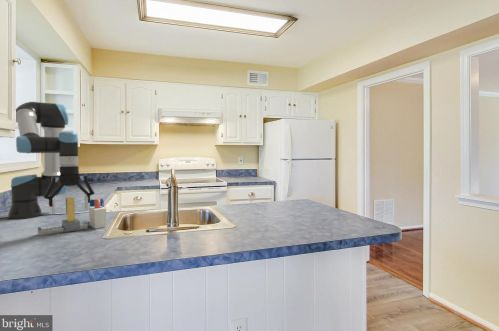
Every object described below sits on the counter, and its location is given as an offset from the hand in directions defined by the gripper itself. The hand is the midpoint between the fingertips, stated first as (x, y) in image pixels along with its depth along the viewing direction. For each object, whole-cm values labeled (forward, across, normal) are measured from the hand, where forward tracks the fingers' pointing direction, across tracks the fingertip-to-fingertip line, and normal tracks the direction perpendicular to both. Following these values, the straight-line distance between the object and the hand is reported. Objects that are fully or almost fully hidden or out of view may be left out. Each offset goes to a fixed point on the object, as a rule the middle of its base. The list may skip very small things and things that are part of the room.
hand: (70, 211), depth 137 cm
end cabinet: (+9, +12, 0) cm, 14 cm away
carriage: (+9, 0, 0) cm, 9 cm away
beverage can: (+9, +14, +11) cm, 20 cm away
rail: (+9, -3, 0) cm, 9 cm away
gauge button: (+4, +12, 0) cm, 12 cm away
